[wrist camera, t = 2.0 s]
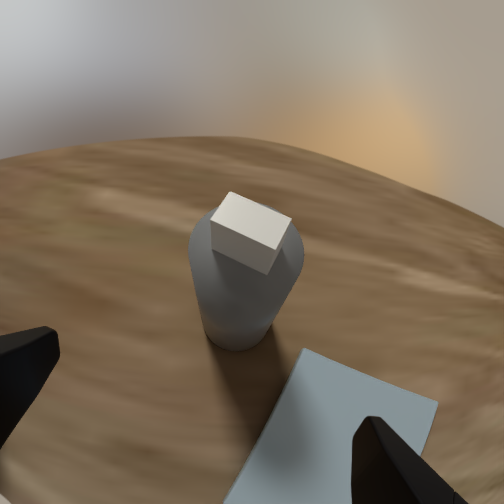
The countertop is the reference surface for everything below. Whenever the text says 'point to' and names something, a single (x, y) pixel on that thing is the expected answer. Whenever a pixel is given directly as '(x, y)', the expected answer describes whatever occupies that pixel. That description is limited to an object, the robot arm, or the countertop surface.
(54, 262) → the countertop surface
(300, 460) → the coaster
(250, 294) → the grey tall rounded piece
